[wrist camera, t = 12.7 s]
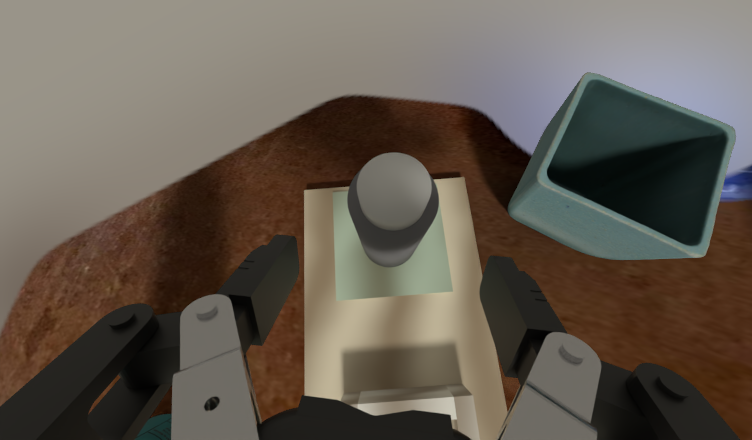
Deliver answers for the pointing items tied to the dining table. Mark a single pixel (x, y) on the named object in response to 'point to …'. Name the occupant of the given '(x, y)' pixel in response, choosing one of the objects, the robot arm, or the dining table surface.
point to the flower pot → (625, 175)
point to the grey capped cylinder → (392, 207)
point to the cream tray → (400, 318)
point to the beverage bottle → (156, 428)
